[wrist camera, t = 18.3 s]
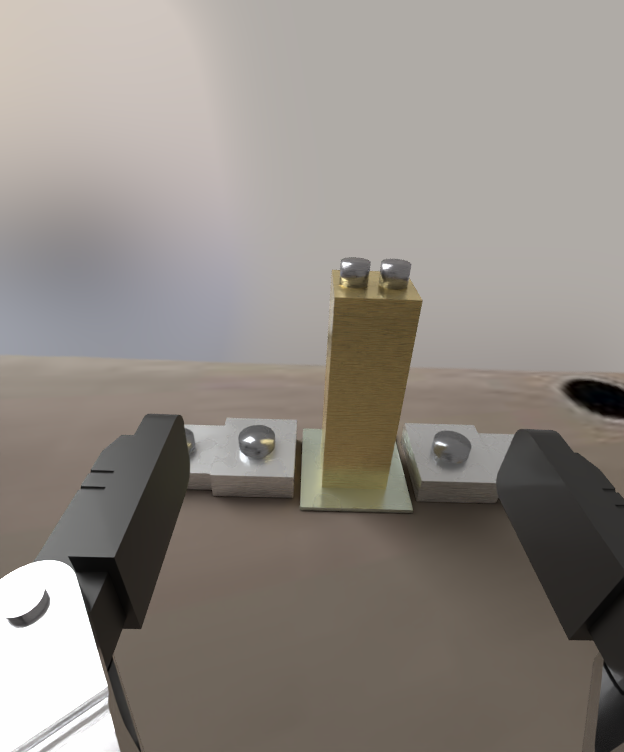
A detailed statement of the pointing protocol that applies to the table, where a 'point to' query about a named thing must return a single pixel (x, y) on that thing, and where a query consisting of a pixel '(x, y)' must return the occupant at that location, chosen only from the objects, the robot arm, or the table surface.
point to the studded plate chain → (277, 465)
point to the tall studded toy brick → (366, 370)
